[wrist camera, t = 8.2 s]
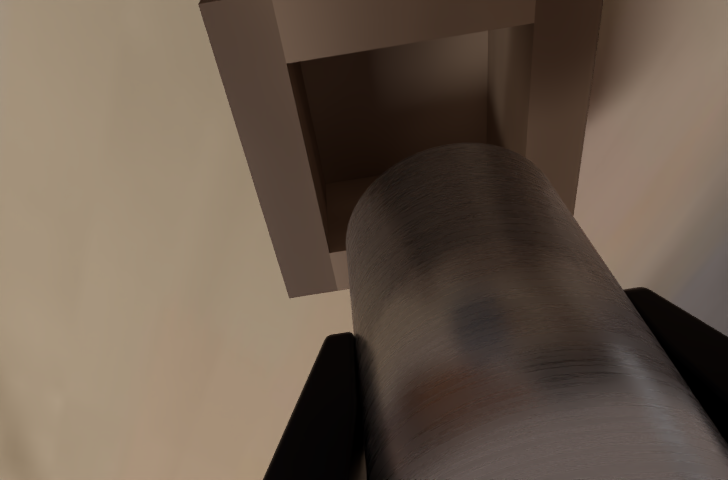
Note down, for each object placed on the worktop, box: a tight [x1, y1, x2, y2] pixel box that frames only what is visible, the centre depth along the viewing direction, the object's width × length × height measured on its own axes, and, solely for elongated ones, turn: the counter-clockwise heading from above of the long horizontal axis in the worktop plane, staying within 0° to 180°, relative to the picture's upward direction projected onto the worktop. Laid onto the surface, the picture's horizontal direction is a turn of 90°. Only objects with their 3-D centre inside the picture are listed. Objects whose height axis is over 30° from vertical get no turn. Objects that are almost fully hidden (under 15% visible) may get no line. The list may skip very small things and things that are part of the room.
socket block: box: [199, 0, 603, 298], centre depth 14 cm, size 8×8×4 cm
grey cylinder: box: [346, 143, 728, 480], centre depth 7 cm, size 4×4×8 cm
